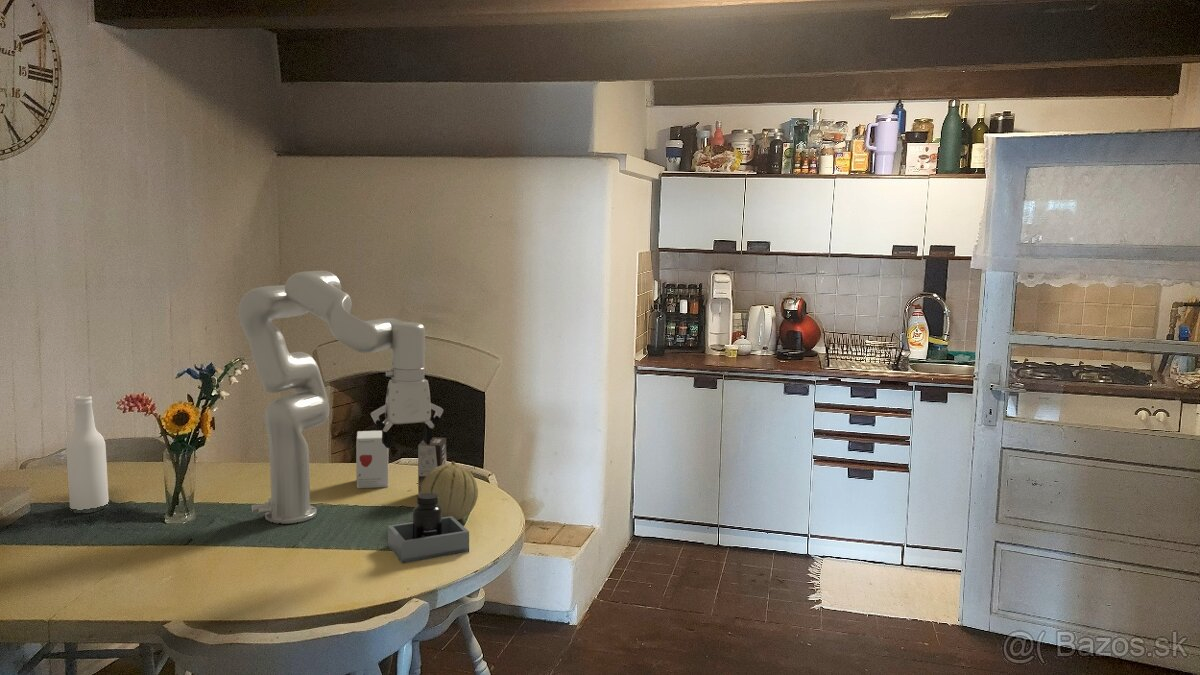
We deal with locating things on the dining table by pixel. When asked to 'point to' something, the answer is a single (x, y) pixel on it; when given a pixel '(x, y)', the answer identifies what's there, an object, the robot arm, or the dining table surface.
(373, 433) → the supplement box
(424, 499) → the supplement bottle
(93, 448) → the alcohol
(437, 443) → the coffee box
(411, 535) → the tote
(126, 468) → the dining table surface
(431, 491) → the cantaloupe
